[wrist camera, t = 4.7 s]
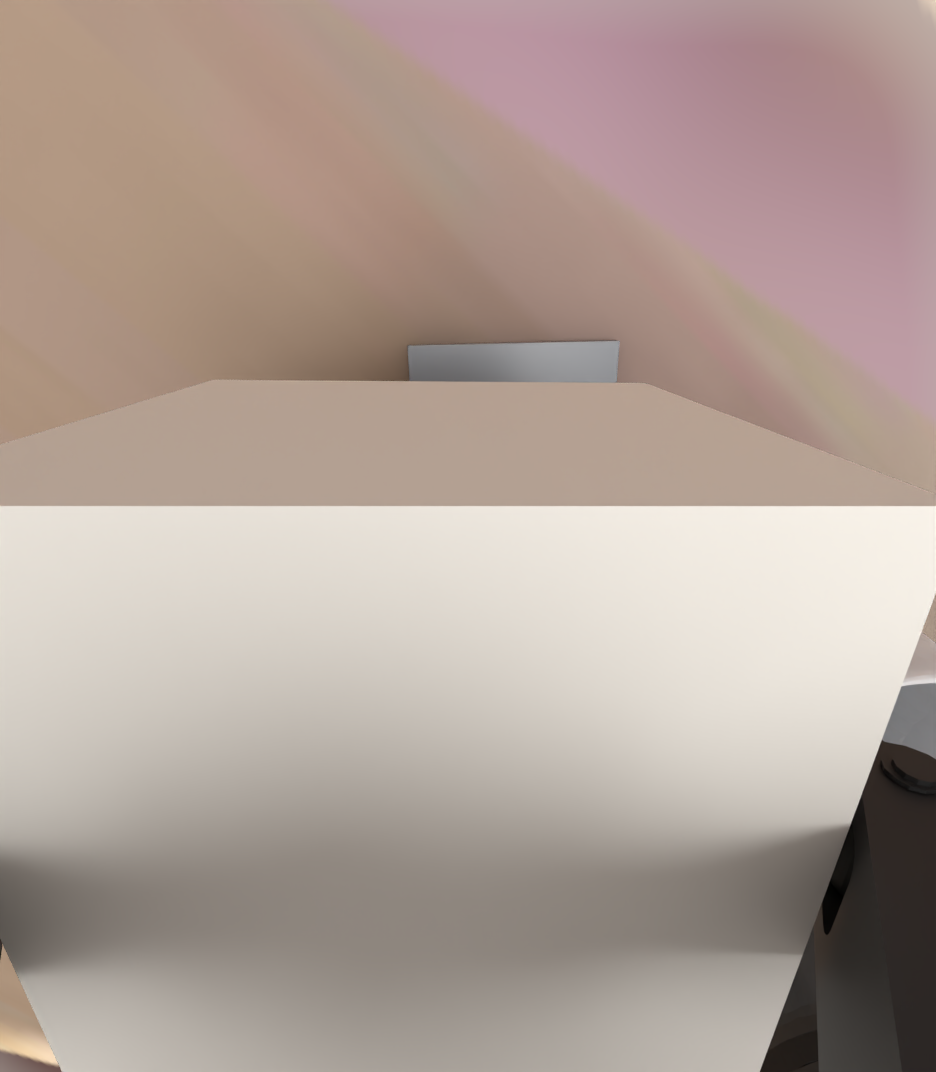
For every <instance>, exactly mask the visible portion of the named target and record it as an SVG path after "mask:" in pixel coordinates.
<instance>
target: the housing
mask: <svg viewBox="0 0 936 1072" xmlns="http://www.w3.org/2000/svg"><path fill="white" fill-rule="evenodd" d="M935 594H936V494H935V493H932V492H929V491H927V490H924V489H921V488H919V487H916V486H914V485H911V484H908V483H906V482H903V481H901V480H898V479H895V478H893V477H890V476H887V475H885V474H882V473H880V472H877V471H874V470H872V469H869V468H867V467H864V466H861V465H859V464H856V463H853V462H851V461H848V460H846V459H843V458H840V457H838V456H835V455H833V454H830V453H827V452H825V451H822V450H819V449H817V448H814V447H812V446H809V445H806V444H804V443H801V442H799V441H796V440H793V439H791V438H788V437H785V436H783V435H780V434H778V433H775V432H772V431H770V430H767V429H765V428H762V427H759V426H757V425H754V424H752V423H749V422H746V421H744V420H741V419H738V418H736V417H733V416H731V415H728V414H725V413H723V412H720V411H718V410H715V409H712V408H710V407H707V406H704V405H702V404H699V403H697V402H694V401H691V400H689V399H686V398H684V397H681V396H678V395H676V394H673V393H670V392H668V391H665V390H663V389H660V388H657V387H655V386H652V385H650V384H647V383H576V382H446V381H315V380H210V381H207V382H204V383H201V384H197V385H194V386H191V387H187V388H184V389H181V390H178V391H174V392H171V393H168V394H164V395H161V396H158V397H155V398H151V399H148V400H145V401H142V402H138V403H135V404H132V405H128V406H125V407H122V408H119V409H115V410H112V411H109V412H106V413H102V414H99V415H96V416H92V417H89V418H86V419H83V420H79V421H76V422H73V423H70V424H66V425H63V426H60V427H56V428H53V429H50V430H47V431H43V432H40V433H37V434H33V435H30V436H27V437H24V438H20V439H17V440H14V441H11V442H7V443H4V444H1V445H0V939H1V941H2V944H3V946H4V948H5V950H6V952H7V954H8V956H9V959H10V961H11V963H12V965H13V967H14V969H15V972H16V974H17V976H18V978H19V980H20V982H21V984H22V987H23V989H24V991H25V993H26V995H27V997H28V999H29V1002H30V1004H31V1006H32V1008H33V1010H34V1012H35V1015H36V1017H37V1019H38V1021H39V1023H40V1025H41V1027H42V1030H43V1032H44V1034H45V1036H46V1038H47V1040H48V1043H49V1045H50V1047H51V1049H52V1051H53V1053H54V1055H55V1058H56V1060H57V1062H58V1064H59V1066H60V1068H61V1071H62V1072H760V1070H761V1067H762V1064H763V1061H764V1059H765V1056H766V1053H767V1050H768V1048H769V1045H770V1042H771V1040H772V1037H773V1034H774V1031H775V1029H776V1026H777V1023H778V1021H779V1018H780V1015H781V1012H782V1010H783V1007H784V1004H785V1002H786V999H787V996H788V993H789V991H790V988H791V985H792V983H793V980H794V977H795V974H796V972H797V969H798V966H799V964H800V961H801V958H802V955H803V953H804V950H805V947H806V944H807V942H808V939H809V936H810V934H811V931H812V928H813V925H814V923H815V920H816V917H817V915H818V912H819V909H820V906H821V904H822V901H823V898H824V896H825V893H826V890H827V887H828V885H829V882H830V879H831V877H832V874H833V871H834V868H835V866H836V863H837V860H838V858H839V855H840V852H841V849H842V847H843V844H844V841H845V838H846V836H847V833H848V830H849V828H850V825H851V822H852V819H853V817H854V814H855V811H856V809H857V806H858V803H859V800H860V798H861V795H862V792H863V790H864V787H865V784H866V781H867V779H868V776H869V773H870V771H871V768H872V765H873V762H874V760H875V757H876V754H877V751H878V749H879V746H880V743H881V741H882V738H883V735H884V732H885V730H886V727H887V724H888V722H889V719H890V716H891V713H892V711H893V708H894V705H895V703H896V700H897V697H898V694H899V692H900V689H901V686H902V684H903V681H904V678H905V675H906V673H907V670H908V667H909V665H910V662H911V659H912V656H913V654H914V651H915V648H916V645H917V643H918V640H919V637H920V635H921V632H922V629H923V626H924V624H925V621H926V618H927V616H928V613H929V610H930V607H931V605H932V602H933V599H934V597H935Z"/></svg>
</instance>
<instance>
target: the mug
mask: <svg viewBox="0 0 936 1072" xmlns="http://www.w3.org/2000/svg"><path fill="white" fill-rule="evenodd" d="M882 740H883V741H884V742H888V743H893V744H899V745H904V746H907V747H910V748H913V749H915V750H918V751H920V752H923V753H926V754H928V755H930V756H931V757H933V758H935V759H936V642H934V641H932V640H931V639H930V638H929V637H927V636H926V635H925V634H924V633H922V632H921V635H920V637H919V640H918V643H917V645H916V648H915V651H914V654H913V656H912V659H911V662H910V665H909V667H908V670H907V673H906V675H905V678H904V681H903V684H902V686H901V689H900V692H899V694H898V697H897V700H896V703H895V705H894V708H893V711H892V713H891V716H890V719H889V722H888V724H887V727H886V730H885V732H884V735H883V738H882Z"/></svg>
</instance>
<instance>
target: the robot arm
mask: <svg viewBox="0 0 936 1072" xmlns="http://www.w3.org/2000/svg"><path fill="white" fill-rule="evenodd" d="M1 951H2V941H1V939H0V958H1ZM760 1072H936V759H935V758H933V757H931V756H930V755H928V754H926V753H923V752H920V751H918V750H915V749H913V748H910V747H907V746H904V745H899V744H893V743H888V742H884V741H883V740H882V741H881V743H880V746H879V749H878V751H877V754H876V757H875V760H874V762H873V765H872V768H871V771H870V773H869V776H868V779H867V781H866V784H865V787H864V790H863V792H862V795H861V798H860V800H859V803H858V806H857V809H856V811H855V814H854V817H853V819H852V822H851V825H850V828H849V830H848V833H847V836H846V838H845V841H844V844H843V847H842V849H841V852H840V855H839V858H838V860H837V863H836V866H835V868H834V871H833V874H832V877H831V879H830V882H829V885H828V887H827V890H826V893H825V896H824V898H823V901H822V904H821V906H820V909H819V912H818V915H817V917H816V920H815V923H814V925H813V928H812V931H811V934H810V936H809V939H808V942H807V944H806V947H805V950H804V953H803V955H802V958H801V961H800V964H799V966H798V969H797V972H796V974H795V977H794V980H793V983H792V985H791V988H790V991H789V993H788V996H787V999H786V1002H785V1004H784V1007H783V1010H782V1012H781V1015H780V1018H779V1021H778V1023H777V1026H776V1029H775V1031H774V1034H773V1037H772V1040H771V1042H770V1045H769V1048H768V1050H767V1053H766V1056H765V1059H764V1061H763V1064H762V1067H761V1070H760Z"/></svg>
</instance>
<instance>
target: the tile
mask: <svg viewBox="0 0 936 1072" xmlns="http://www.w3.org/2000/svg"><path fill="white" fill-rule="evenodd" d="M619 343H620V341H617V340H602V341H558V342H515V343H471V344H427V345H408V361H409V379H410V381H446V382H576V383H617V370H618V357H619Z"/></svg>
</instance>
